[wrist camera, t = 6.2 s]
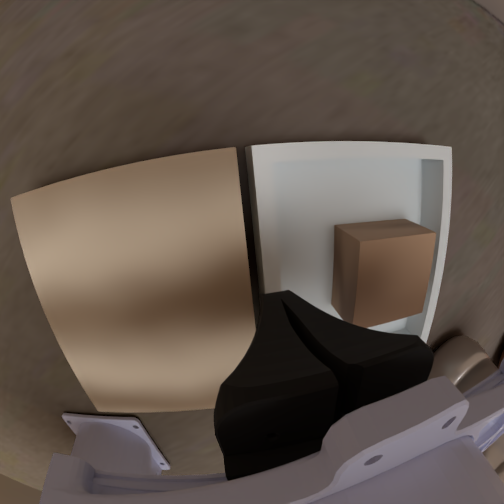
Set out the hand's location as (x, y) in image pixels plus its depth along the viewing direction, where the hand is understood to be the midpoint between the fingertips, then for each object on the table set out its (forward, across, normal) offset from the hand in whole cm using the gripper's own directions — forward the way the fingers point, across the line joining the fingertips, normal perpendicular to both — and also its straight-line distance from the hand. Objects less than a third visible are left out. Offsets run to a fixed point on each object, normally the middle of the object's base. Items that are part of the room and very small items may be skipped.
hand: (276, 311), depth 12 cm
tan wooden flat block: (+4, +6, 0) cm, 7 cm away
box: (+4, -6, 0) cm, 7 cm away
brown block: (0, -7, 0) cm, 7 cm away
